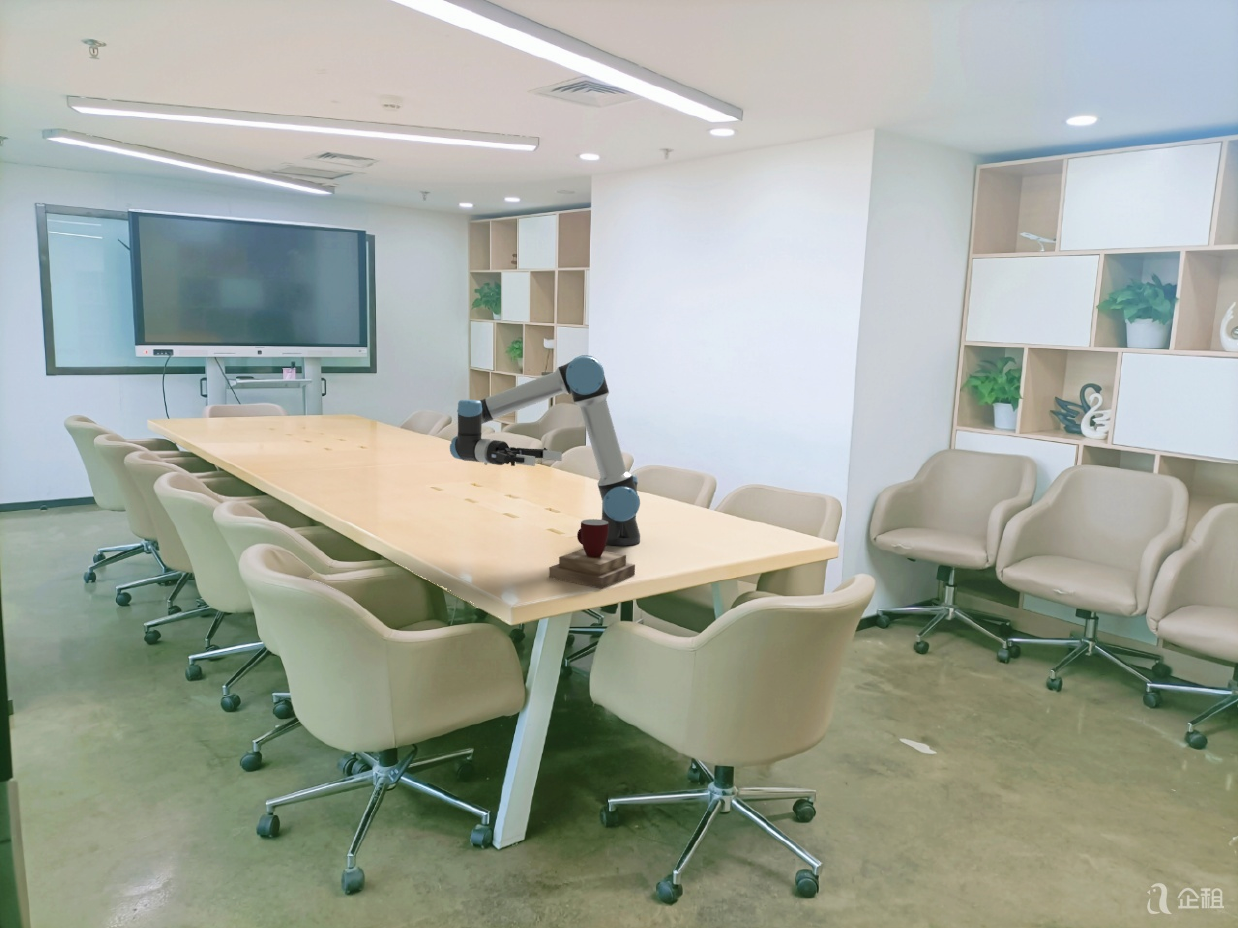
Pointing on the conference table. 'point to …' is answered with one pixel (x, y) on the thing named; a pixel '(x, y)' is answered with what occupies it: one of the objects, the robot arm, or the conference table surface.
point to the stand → (592, 568)
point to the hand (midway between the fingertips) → (548, 458)
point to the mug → (593, 536)
